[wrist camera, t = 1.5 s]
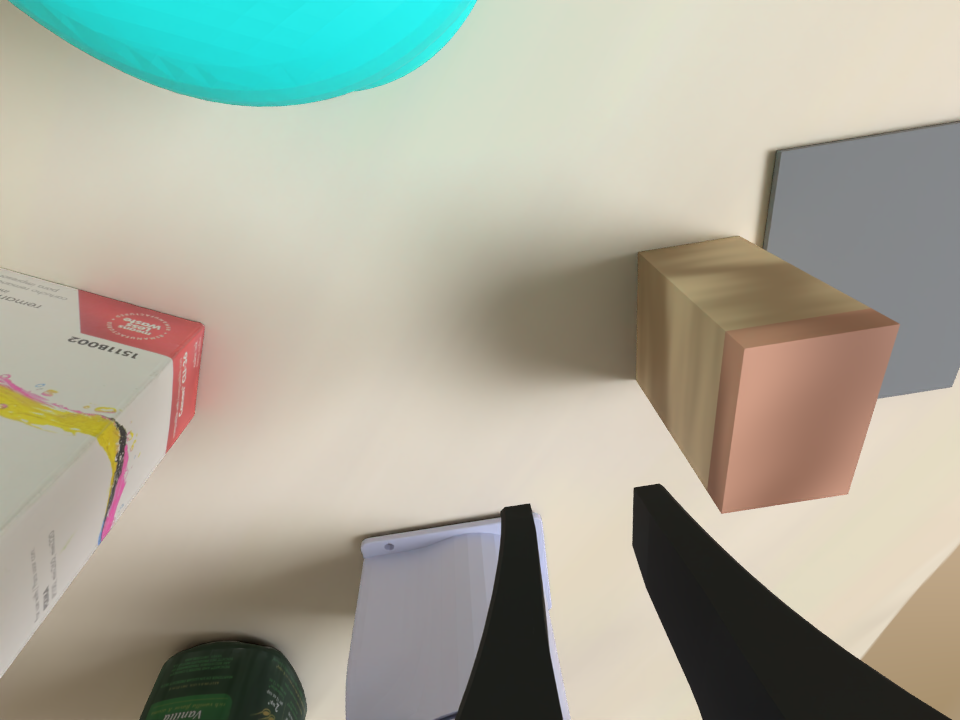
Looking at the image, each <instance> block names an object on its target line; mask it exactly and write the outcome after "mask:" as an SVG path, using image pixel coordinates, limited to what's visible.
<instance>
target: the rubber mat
mask: <svg viewBox="0 0 960 720" xmlns="http://www.w3.org/2000/svg"><path fill="white" fill-rule="evenodd" d="M763 249H764V250H766V251H768V252H769V253H771V254H773V255H775V256H777V257H779V258H780V259H782V260H784V261H786V262H788V263H790V264H791V265H793V266H795V267H797V268H799V269H800V270H802V271H804V272H806V273H808V274H810V275H811V276H813V277H815V278H817V279H819V280H821V281H822V282H824V283H826V284H828V285H830V286H832V287H833V288H835V289H837V290H839V291H841V292H843V293H844V294H846V295H848V296H850V297H852V298H853V299H855V300H857V301H859V302H861V303H863V304H864V305H866V306H868V307H870V308H872V309H874V310H875V311H877V312H879V313H881V314H883V315H885V316H886V317H888V318H890V319H892V320H894V321H895V322H897V323H899V324H900V326H899V330H898V333H897V336H896V339H895V343H894V346H893V349H892V352H891V356H890V359H889V362H888V365H887V369H886V372H885V375H884V378H883V382H882V385H881V388H880V391H879V395H878V398H877V399H879V398H885V397H892V396H898V395H904V394H911V393H917V392H924V391H930V390H936V389H943V388H949V387H952V385H953V383H954V380H955V378H956V375H957V373H958V370H959V368H960V121H957V122H951V123H945V124H939V125H933V126H927V127H920V128H914V129H908V130H902V131H896V132H890V133H883V134H877V135H871V136H865V137H859V138H852V139H846V140H840V141H834V142H828V143H822V144H815V145H809V146H803V147H797V148H791V149H784V150H778V151H777V153H776V160H775V167H774V174H773V181H772V188H771V195H770V202H769V209H768V216H767V223H766V230H765V237H764V244H763Z"/></svg>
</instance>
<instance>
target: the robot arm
mask: <svg viewBox="0 0 960 720" xmlns="http://www.w3.org/2000/svg"><path fill="white" fill-rule="evenodd" d="M388 543H389V544H388ZM632 545H633V549H634V552H635V555H636V558H637V561H638V564H639V568H640V571H641V574H642V577H643V580H644V583H645V586H646V588H647V591H648V593H649V595H650V598H651V600H652V602H653V604H654V607H655V609H656V611H657V614H658V616H659V618H660V620H661V623H662V625H663V627H664V629H665V631H666V634H667V636H668V638H669V640H670V643H671V645H672V647H673V649H674V652H675V654H676V656H677V658H678V661H679V663H680V665H681V667H682V669H683V672H684V674H685V676H686V678H687V681H688V683H689V685H690V688H691V690H692V693H693V695H694V697H695V700H696V702H697V705H698V707H699V710H700V713H701V716H702V719H703V720H952V719H950V718H948V717H947V716H945V715H943V714H942V713H940V712H939V711H937V710H935V709H934V708H932V707H931V706H929V705H927V704H926V703H924V702H922V701H921V700H919V699H918V698H916V697H915V696H913V695H911V694H910V693H908V692H907V691H905V690H904V689H902V688H901V687H899V686H898V685H896V684H895V683H893V682H892V681H891V680H889V679H888V678H886V677H885V676H883V675H882V674H880V673H879V672H877V671H876V670H874V669H873V668H871V667H870V666H868V665H867V664H865V663H864V662H862V661H861V660H859V659H858V658H856V657H855V656H854V655H852V654H851V653H849V652H848V651H846V650H845V649H844V648H842V647H841V646H840V645H838V644H837V643H836V642H834V641H833V640H831V639H830V638H829V637H827V636H826V635H825V634H823V633H822V632H821V631H819V630H818V629H817V628H815V627H814V626H813V625H811V624H810V623H809V622H808V621H806V620H805V619H804V618H802V617H801V616H800V615H799V614H797V613H796V612H795V611H794V610H792V609H791V608H790V607H789V606H787V605H786V604H785V603H784V602H782V601H781V600H780V599H779V598H778V597H776V596H775V595H774V594H773V593H772V592H771V591H769V590H768V589H767V588H766V587H765V586H764V585H762V584H761V583H760V582H759V581H758V580H757V579H756V578H754V577H753V576H752V575H751V574H750V573H749V572H748V571H747V570H746V569H744V568H743V567H742V566H741V565H740V564H739V563H738V562H737V561H736V560H735V559H734V558H733V557H732V556H730V555H729V554H728V553H727V552H726V551H725V550H724V549H723V548H722V547H721V546H720V545H719V544H718V543H717V542H716V541H715V540H714V539H713V538H712V537H711V536H710V535H709V534H708V533H707V532H706V531H705V530H704V529H703V528H702V527H701V526H700V525H699V524H698V523H697V522H696V521H695V520H694V519H693V518H692V517H691V516H690V515H689V514H688V513H687V512H686V511H685V510H684V509H683V507H682V506H681V505H680V504H679V503H678V502H677V501H676V500H675V499H674V498H673V497H672V495H671V494H670V493H669V492H668V491H667V490H666V489H665V488H664V487H663V486H662V485H661V484H654V485H648V486H641V487H635V488H634V498H633V541H632ZM361 552H362V555H363V558H364V561H363V568H362V574H361V581H360V587H359V594H358V600H357V607H356V613H355V620H354V626H353V633H352V639H351V646H350V652H349V659H348V666H347V677H346V720H571V717H570V712H569V707H568V703H567V698H566V693H565V688H564V683H563V678H562V673H561V668H560V663H559V659H558V654H557V649H556V644H555V639H554V634H553V629H552V624H551V619H550V614H549V610H550V608H551V606H552V605H551V596H550V587H549V579H548V570H547V561H546V552H545V544H544V535H543V526H542V520H541V517H540V515H539V514H537V513H532V510H531V506H530V504H523V505H517V506H510V507H505V508H504V509H503V510H502V511H501V517H500V518H493V519H487V520H480V521H474V522H468V523H461V524H455V525H448V526H442V527H436V528H429V529H423V530H416V531H410V532H404V533H397V534H391V535H384V536H378V537H371V538H367V539H365V540H363V541H362V543H361Z"/></svg>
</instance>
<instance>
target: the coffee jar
mask: <svg viewBox="0 0 960 720" xmlns="http://www.w3.org/2000/svg"><path fill="white" fill-rule="evenodd" d="M306 712H307V704H306V698H305V694H304V690H303V688H302V685H301V682H300V680H299V678H298V676H297V674H296V672H295V671H294V669H293V667H292V666H291V664H290V663H289V661H288V660H287V658H286V657H285V656H284V655H283V654H282V653H281V652H280V651H278V650H277V649H274V648H271V647H265V646H260V645H254V644H248V643H241V642H239V641H218V642H212V643H207V644H202V645H198V646H196V647H194V648H191V649H188V650H185V651H182V652H179V653H177V654H176V655H174V656H173V657H171V658H170V659H169V660H168V661H167V662H166V663H165V664H164V666H163V667H162V669H161V672H160V674H159V676H158V678H157V680H156V682H155V685H154V687H153V689H152V692H151V694H150V696H149V698H148V701H147V703H146V705H145V707H144V710H143V712H142V715H141V717H140V719H139V720H305V717H306Z"/></svg>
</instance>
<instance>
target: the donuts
mask: <svg viewBox="0 0 960 720" xmlns="http://www.w3.org/2000/svg"><path fill="white" fill-rule="evenodd" d="M9 1H10V2H11V3H12V4H13V5H15V6H16V7H17V8H19V9H20V10H21V11H23V12H24V13H26V14H27V15H28V16H30V17H31V18H32V19H34V20H35V21H37V22H38V23H39V24H41V25H42V26H44V27H45V28H47V29H48V30H50V31H51V32H53V33H54V34H56V35H57V36H59V37H60V38H62V39H63V40H65V41H67V42H68V43H70V44H72V45H73V46H75V47H77V48H79V49H80V50H82V51H84V52H86V53H87V54H89V55H91V56H93V57H95V58H97V59H99V60H101V61H103V62H105V63H107V64H109V65H110V66H112V67H114V68H116V69H118V70H120V71H122V72H124V73H126V74H129V75H131V76H133V77H136V78H138V79H140V80H143V81H145V82H147V83H150V84H153V85H155V86H158V87H161V88H164V89H167V90H170V91H173V92H176V93H179V94H183V95H187V96H191V97H195V98H199V99H203V100H207V101H212V102H219V103H225V104H231V105H241V106H257V107H261V106H288V105H298V104H305V103H311V102H316V101H321V100H326V99H330V98H334V97H337V96H341V95H345V94H347V93H350V92H353V91H360V90H365V89H370V88H374V87H378V86H381V85H384V84H387V83H390V82H392V81H394V80H397V79H399V78H401V77H403V76H405V75H407V74H409V73H410V72H412V71H414V70H415V69H417V68H418V67H420V66H421V65H423V64H424V63H425V62H427V61H428V60H429V59H431V58H432V57H433V56H434V55H435V54H436V53H437V52H439V51H440V50H441V49H442V48H443V47H444V46H445V45H446V44H447V42H448V41H449V40H450V39H451V38H452V37H453V36H454V34H455V33H456V32H457V31H458V29H459V28H460V27H461V25H462V24H463V22H464V21H465V20H466V18H467V17H468V15H469V13H470V12H471V10H472V9H473V7H474V5H475V3H476V1H477V0H9Z"/></svg>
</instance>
